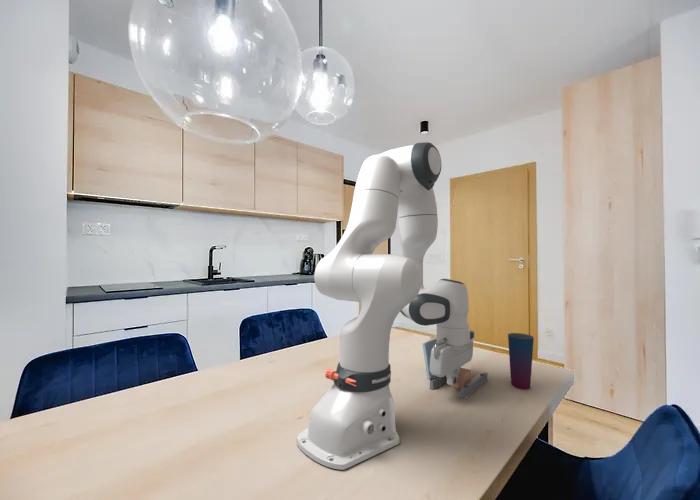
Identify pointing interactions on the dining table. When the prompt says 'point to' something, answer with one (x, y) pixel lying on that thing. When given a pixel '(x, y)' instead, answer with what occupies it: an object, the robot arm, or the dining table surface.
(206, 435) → the dining table surface
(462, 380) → the block
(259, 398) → the dining table surface
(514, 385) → the cup
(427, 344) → the cover
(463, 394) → the grey rail
